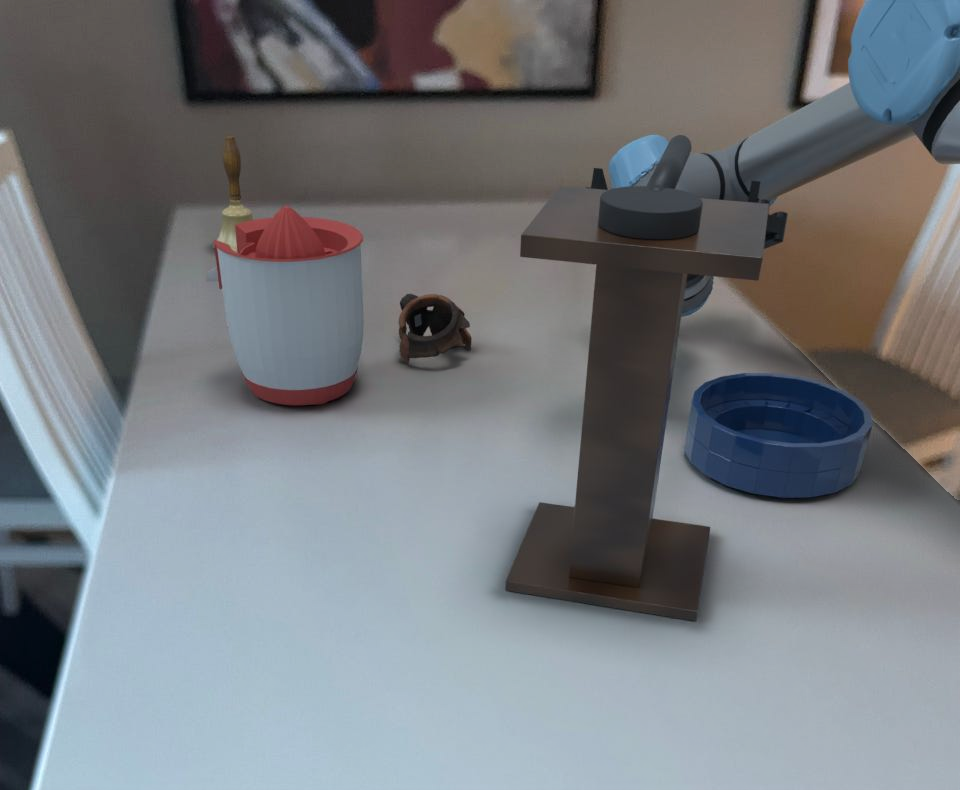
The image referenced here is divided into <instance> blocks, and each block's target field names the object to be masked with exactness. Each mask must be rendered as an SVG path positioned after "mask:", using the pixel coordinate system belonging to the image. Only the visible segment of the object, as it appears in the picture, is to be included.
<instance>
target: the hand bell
mask: <svg viewBox="0 0 960 790" xmlns="http://www.w3.org/2000/svg"><path fill="white" fill-rule="evenodd" d="M222 161H223V168H224V171H225V173H226V176H227V181H228V187H229V205H228V207H226V208H224V209H223V210H222V211H221V227H220V232H219V235H218V237H217V238H216V240H217V241H220V242H223V243H226V244H228V245H230V247H231V249H232V250H233V251H234V252H236V253H237V243H236V231H235V225H236V224H239V223H243V222H246V221H252V220H254V218H253V214H252V211H251V209H249V207H248V208H247V207H246V206H244V205H243V204H242V195H241V186H240V175H241V171H242V170H241V169H242V159H241V153H240V149H239V146H238V144H237V142H236V139H235V136H234V135H233V134H226V135H225V137H224V143H223V149H222ZM212 247H213V248H214V244H213V245H212Z"/></svg>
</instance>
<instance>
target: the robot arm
mask: <svg viewBox="0 0 960 790" xmlns="http://www.w3.org/2000/svg"><path fill="white" fill-rule="evenodd" d="M850 47H851V51H850V55H849V57H848V59H847V69H848V80H849V81H848V82H847V83H846V84H843V85H842V86H840V87H838V88H836V89H834V90H832V91H831V92H828V93H827V94H825V95H823V96H822V97H819V98H818V99H815V100H814V101H812V102H810V103H809V104H806V105H805V106H803V107H801V108H799V109H797V110H795V111H793V112H792V113H790V114H788V115H786V116H785V117H783V118H781V119H779V120H776V121H775V122H773V123H771V124H769V125H768V126H765V127H763V128H762V129H760V130H759V131H756V132H755V133H753V134H751V135H749V136H748V137H746V138H744V139H742V140H740V141H738V142H737V143H734V144H732V145H731V146H729V147H726V148H724V149H719V150H714V151H713V150H712V151H708V152H707V151H706V152H700V153H699V152H698V153H690V155H689V157H688V159H687V162H686V164H685V166H684V169H683V171H682V174H681V176H680V178H679V181H678V183H677V185H676V188H675V189H677V190H681V191H685V192H688V193H691V194H694V195H696V196H698V197H699V198H706V199H717V200H729V201H740V202H752V203H763V204H769V209H768V217H767V226H766V234H765V243H764V250H766V249H768V248H771V247H774V246H777V245H779V244H782V243H783V242H784V239H785V233H786V226H787V223H788V221H787V220H788V215H789V213H787V212H785V211H782V210H781V211H775V212H774V213H771V214H769V213H770V212H769V211H770V207H771V206H772V205H773V204H774V203H775V201H776V200H777V199H778V198H779V197H780V196H783V195H784V194H786V193H789V192H791V191H793V190H796V189H798V188H801V187H803V186H805V185H807V184H810V183H811V182H814V181H816V180H818V179H820V178H823V177H825V176H827V175H830V174H832V173H834V172H836V171H838V170H840V169H842V168H843V169H844V168H845V167H847V166H850V165H852V164H854V163H856V162H858V161H860V160H863V159H865V158H867V157H870V156H872V155H875V154H877V153H879V152H882V151H884V150H886V149H888V148H890V147H892V146H895V145H897V144H899V143H901V142H904V141H906V140H909V139H910V138H912V137H915V136H916V137H917V138H918V140H919V141H920V142H921V144H922V145H923V146H924V148H925V149H926V150H927V151H928V153H929V154H930V155H931V157H932V158H933V159H934V160H935V162H937V163H938V164H940V165H960V0H865V1H864V3H863V5H862V7H861V9H860V11H859V13H858V16H857V18H856V21H855V23H854V26H853V30H852V32H851V37H850ZM669 142H670V141H669V140H668V139H667V138H666V137H664V136H661V135H660V134H650V135H645V136H642V137H639V138H637V139H635V140H633V141H631V142H629V143H627V144H625V145H624V146H623V147H621V148H620V149H619V150H617V152H615V154H613V155H612V158H611V159H610V160H609V163H608V168H607V169H608V175H609V178H610V184H611V187H612V189H614V188H620V187H629V186H647V184H648V182H649V180H650V178H651V176H652V175H653V173H654V171H655V169H656V167H657V165H658V163H659V161H660V159H661V157H662V155H663V153H664V151H665V149H666V148H667V146H668V144H669ZM585 188H590V189H602V190H609V189H608V188H609V187H608V185H607V181H606V178H605V174H604V170H603V168H600V167H594V168H593V171H592V178H591V185H590V187H589V186H586V187H585ZM714 279H715V276H705V275H695V274H687V280H686V287H685V294H684V301H683V308H682V316H681V318H685V317H688V316H691V315H693V314H695V313H697V312H698V311H699V310H700V309H701V308H702V307H703V306H704V305H705V304H706V302H707V301H708V299H709V297H710V296H711V294H712V291H713V289H714V283H715V282H714Z"/></svg>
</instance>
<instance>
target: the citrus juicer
mask: <svg viewBox="0 0 960 790" xmlns="http://www.w3.org/2000/svg"><path fill="white" fill-rule="evenodd" d="M235 231H236V243H237V253H236V252H234V251H233V250H232V249H231V247H230V245H228V244H226V243H223V242H220V241H217V239H215V238H214V239H213V245H214V247H213V249H214V257H215V263H216V267H214V268H211V269H209V270H208V272H207V273H206V276H205V282H206V283H208V282H209V283H210V282H218V286H219V287H218V288H219V290H222V297H223V304H224V312H225V321H226V325H227V330H228V336H229V339H230V343H231V346H232V350H233V353H234V356H235V359H236V361H237V363H238V366H239V368H240V371H241V375H242V377H243V378H244V381H245V382H246V384H247V386H248V388H249V390H250V391H251V392H252V393H253V395H254V396H256V397H257V398H259V399H261V400H263V401H265V402H268V403H273V404H278V405H285V406H308V405H314V406H322V405H325V404H327V403H328V402H329V401H334V400H337V399H338V398H341V397H342V396H344V395H345V394H347V393H348V392H349V391H350V390H351V388H352V386H353V384H354V381H355V379H356V376H357V373H358V371H359V363H360V359H361V354H362V349H363V340H364V323H365V321H364V319H365V315H364V313H365V312H364V292H363V291H364V290H363V269H362V268H363V267H362V251H361V250H362V246H361V245H362V243H363V241H364V236H363V234H362V233H361V231H360V230H359V229H358V228H356V227H354V226H352V225H350V224H348V223H344V222H341V221H337V220H333V219H327V218H321V217H320V218H319V217H307V216H301V215H300V213H298V212H297V211H296V210H295V209H293V208H292V207H291V206H289V205H285V206H282V207H281V208H279V210H277V212H276V213H275V214H274V215H273V217H268V218H267V217H265V218H257V219H253V220H252V221H246V222H243V223H239V224H236V225H235Z"/></svg>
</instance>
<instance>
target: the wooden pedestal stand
mask: <svg viewBox="0 0 960 790" xmlns="http://www.w3.org/2000/svg"><path fill="white" fill-rule="evenodd" d="M605 191H607V190H602V189H590V188H586V187H578V186H565V185H559V187H558V188H557V189H556V190H555V191H554V193H553V194H552V195H551V196H550V197H549V199H548V200H547V202H546V203H545V204H544V205H543V207H541V209H539V210H540V211H539V212H537V214H536V216H534V218H533V219H532V220H531V221H530V223H529V224H528V225H527V226H526V227H525V229H524V231H523V232H522V233H521V235H520V246H519V247H520V251H519V257H520V258H526V259H536V260H547V261H556V262H566V263H567V262H568V263H576V264H577V263H578V264H587V265H595V273H594V274H595V275H594V276H595V277H594V287H593V297H592V308H591V309H592V311H591V319H590V321H591V322H590V331H589V344H588V355H587V366H586V376H585V389H584V390H585V391H584V398H583V399H584V400H583V401H584V402H583V408H582V409H583V411H582V421H581V422H582V423H581V431H580V444H579V456H578V466H577V467H578V468H577V479H576V489H575V498H574V506H568V505H561V504H555V503H548V502H542V501H539V502H538V504H537V507H536V509H535V511H534V513H533V516H532V518H531V520H530V522H529V524H528V525H529V526H528V527H527V530H526V532H525V534H524V537H523V539H522V541H521V544H520V546H519V549H518V551H517V554H516V556H515V558H514V561H513V563H512V565H511V568H510V569H509V572H508V574H507V576H506V579H505V584H504V590H505V591H508V592H513V593H520V594H526V595H530V596H531V595H533V596H538V597H544V598H551V599H556V600H563V601H568V602H569V601H570V602H575V603H581V604H587V605H595V606H601V607H607V608H612V609H619V610H625V611H631V612H637V613H644V614H649V615H656V616H662V617H667V618H668V617H669V618H674V619H681V620H687V621H693V622H696V621H697V619H698V613H699V607H700V600H701V594H702V587H703V581H704V574H705V566H706V560H707V554H708V553H707V552H708V546H709V539H710V532H711V527H710V526H706V525H701V524H694V523H687V522H680V521H674V520H673V521H672V520H667V519H666V520H665V519H658V518H654V513H655V506H656V499H657V490H658V484H659V477H660V469H661V463H662V457H663V456H662V455H663V449H664V444H665V443H664V441H665V435H666V427H667V420H668V415H669V407H670V400H671V393H672V385H673V380H674V379H673V378H674V371H675V364H676V357H677V350H678V344H679V336H680V330H681V322H682V317H681V316H682V308H683V301H684V294H685V287H686V280H687V274H695V275H705V276H714V278H716V277H717V278H727V279H736V280H737V279H738V280H744V281H745V280H746V281H748V280H749V281H757V282H758V281H759V280H760V274H761V270H762V264H763V259H764V251H765V249H764V243H765V234H766V226H767V217H768V214H769V213H768V209H769V210H770V207H769V204H763V203H752V202H740V201H729V200H717V199H706V198H700V199H701V200H702V202H703V206H702V213H701V219H700V226H699V230H698V232H697V233H695V234H694V235H691V236H688V237H685V238H680V239H671V240H646V239H636V238H629V237H624V236H620V235H616V234H613V233H611V232H608V231H606V230H604V229H603V228H601V227H600V226H599V224H598V218H599V206H600V197H601V194H602V193H604V192H605Z"/></svg>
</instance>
